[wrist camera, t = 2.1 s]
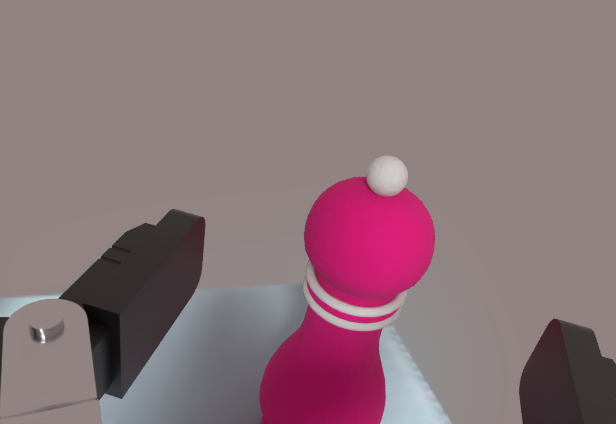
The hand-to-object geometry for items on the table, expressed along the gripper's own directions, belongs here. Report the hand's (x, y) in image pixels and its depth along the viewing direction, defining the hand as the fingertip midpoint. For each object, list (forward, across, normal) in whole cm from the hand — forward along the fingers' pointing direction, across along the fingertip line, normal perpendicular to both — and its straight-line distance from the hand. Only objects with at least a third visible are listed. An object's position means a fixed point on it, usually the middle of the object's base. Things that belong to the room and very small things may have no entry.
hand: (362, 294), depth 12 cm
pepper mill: (+12, 0, +22) cm, 25 cm away
